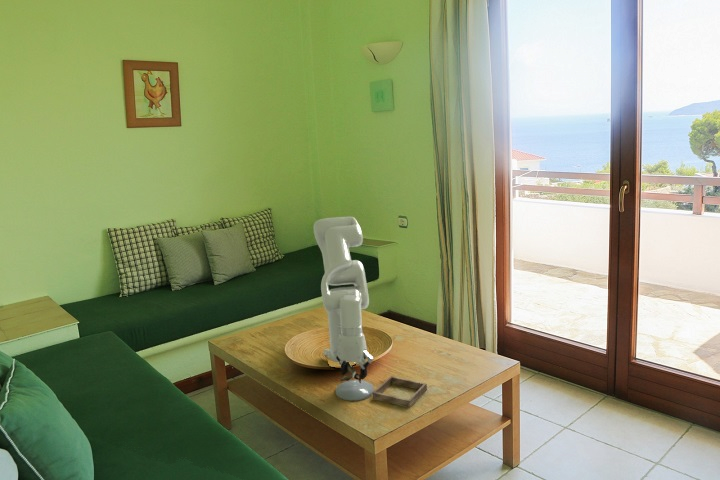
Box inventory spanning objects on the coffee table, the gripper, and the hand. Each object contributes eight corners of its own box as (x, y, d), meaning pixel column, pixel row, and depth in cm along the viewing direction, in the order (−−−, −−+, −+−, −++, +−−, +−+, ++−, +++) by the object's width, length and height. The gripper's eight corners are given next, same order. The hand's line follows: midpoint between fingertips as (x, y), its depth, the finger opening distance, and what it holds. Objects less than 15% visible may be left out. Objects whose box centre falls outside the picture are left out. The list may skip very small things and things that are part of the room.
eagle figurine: (369, 374, 215) (348, 366, 220) (364, 363, 210) (343, 356, 215) (359, 391, 211) (338, 383, 216) (354, 381, 206) (333, 373, 211)
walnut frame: (372, 398, 208) (372, 392, 208) (391, 382, 220) (390, 375, 220) (410, 407, 201) (409, 401, 201) (426, 389, 213) (426, 383, 212)
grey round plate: (328, 395, 212) (328, 393, 212) (348, 379, 224) (348, 377, 224) (361, 404, 205) (361, 401, 205) (380, 387, 217) (380, 384, 217)
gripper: (325, 329, 210) (328, 375, 214) (367, 337, 202) (369, 384, 205) (336, 323, 217) (339, 367, 220) (378, 329, 208) (380, 375, 212)
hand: (354, 375), depth 213 cm, fingers closed on eagle figurine, 7 cm apart
